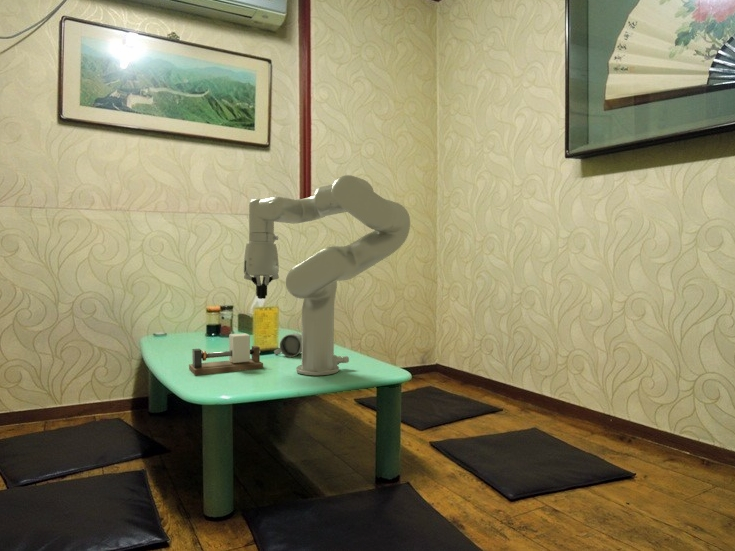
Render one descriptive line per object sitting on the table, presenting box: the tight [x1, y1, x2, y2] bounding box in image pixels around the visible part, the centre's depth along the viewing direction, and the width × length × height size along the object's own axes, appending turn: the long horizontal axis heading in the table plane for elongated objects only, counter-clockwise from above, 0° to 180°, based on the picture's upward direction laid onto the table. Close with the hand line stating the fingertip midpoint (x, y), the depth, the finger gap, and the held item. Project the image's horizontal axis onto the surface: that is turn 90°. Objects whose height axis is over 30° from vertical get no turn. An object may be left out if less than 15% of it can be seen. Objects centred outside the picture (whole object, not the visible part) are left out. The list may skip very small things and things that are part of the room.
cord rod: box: [191, 348, 254, 368], centre depth 152 cm, size 18×3×5 cm, turn 119°
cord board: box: [188, 345, 264, 376], centre depth 153 cm, size 20×9×6 cm, turn 119°
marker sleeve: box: [228, 332, 251, 363], centre depth 154 cm, size 5×5×8 cm
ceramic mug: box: [273, 332, 302, 358], centre depth 176 cm, size 11×8×8 cm
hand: (261, 298), depth 157 cm, fingers closed
